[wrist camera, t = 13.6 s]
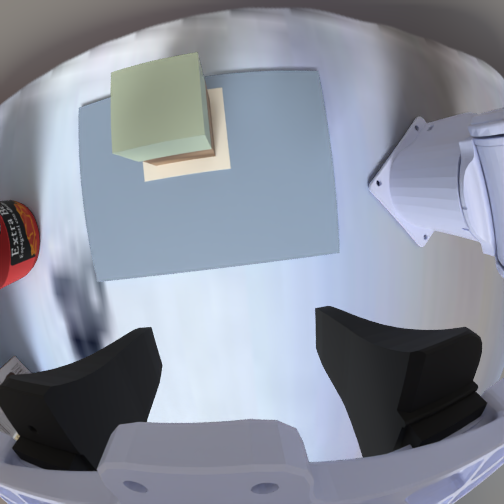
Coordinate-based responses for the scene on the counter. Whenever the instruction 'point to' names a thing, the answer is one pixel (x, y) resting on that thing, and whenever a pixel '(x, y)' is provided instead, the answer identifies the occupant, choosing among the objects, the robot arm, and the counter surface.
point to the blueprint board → (216, 184)
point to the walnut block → (191, 154)
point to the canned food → (17, 242)
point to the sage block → (159, 109)
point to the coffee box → (8, 369)
